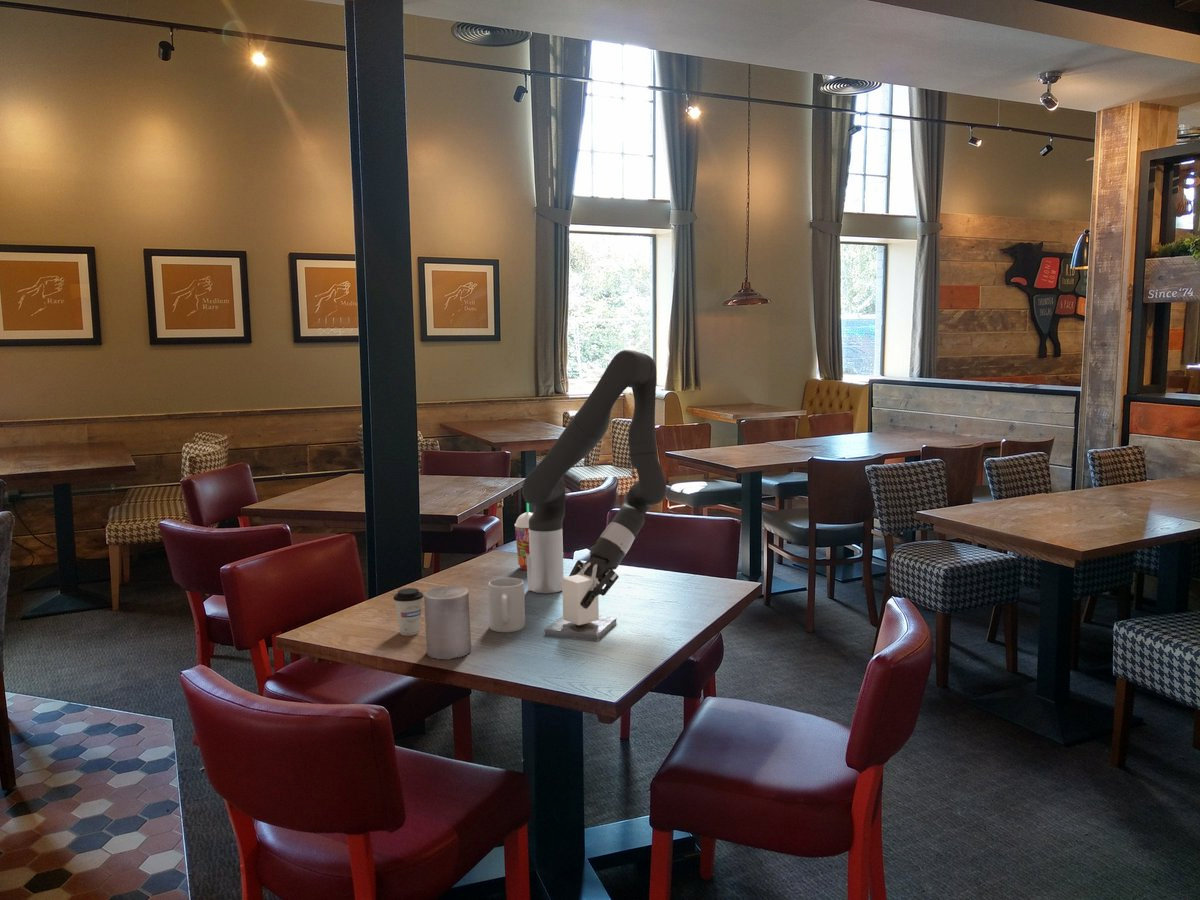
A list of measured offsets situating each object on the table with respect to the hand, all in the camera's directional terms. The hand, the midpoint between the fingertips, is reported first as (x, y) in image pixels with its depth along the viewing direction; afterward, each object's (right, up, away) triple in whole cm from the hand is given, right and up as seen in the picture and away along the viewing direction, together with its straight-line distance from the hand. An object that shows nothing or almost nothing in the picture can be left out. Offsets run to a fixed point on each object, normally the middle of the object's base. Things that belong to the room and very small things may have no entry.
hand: (574, 603), depth 196 cm
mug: (-16, -7, +3) cm, 18 cm away
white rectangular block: (+1, -4, +2) cm, 5 cm away
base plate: (+1, -7, +2) cm, 7 cm away
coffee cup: (-39, -7, +2) cm, 40 cm away
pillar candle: (-27, -9, -12) cm, 31 cm away
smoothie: (-16, 0, +60) cm, 62 cm away
